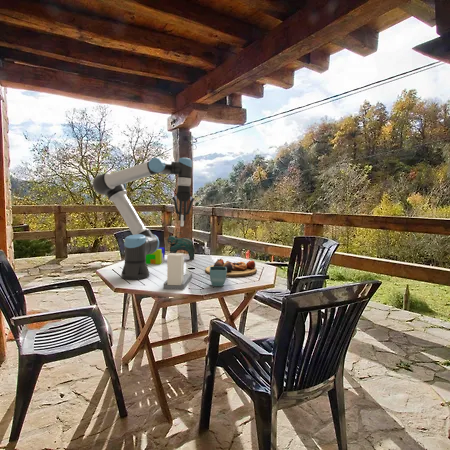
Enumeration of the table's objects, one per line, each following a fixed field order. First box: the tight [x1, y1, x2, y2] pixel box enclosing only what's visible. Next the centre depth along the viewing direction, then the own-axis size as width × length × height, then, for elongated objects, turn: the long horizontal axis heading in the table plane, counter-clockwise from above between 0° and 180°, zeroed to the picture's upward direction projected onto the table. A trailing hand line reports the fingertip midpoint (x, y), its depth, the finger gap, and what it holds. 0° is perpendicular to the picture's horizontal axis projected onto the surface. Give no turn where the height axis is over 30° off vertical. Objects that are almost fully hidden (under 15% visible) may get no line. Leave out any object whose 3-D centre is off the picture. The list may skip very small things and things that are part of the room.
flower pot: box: [209, 267, 227, 287], centre depth 164 cm, size 9×9×9 cm
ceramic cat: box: [167, 231, 196, 261], centre depth 234 cm, size 20×6×20 cm, turn 83°
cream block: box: [166, 252, 185, 285], centre depth 160 cm, size 7×6×15 cm
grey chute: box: [163, 272, 193, 290], centre depth 168 cm, size 10×24×3 cm, turn 176°
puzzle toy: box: [146, 246, 166, 265], centre depth 219 cm, size 10×10×10 cm
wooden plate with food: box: [204, 258, 257, 278], centre depth 197 cm, size 32×32×8 cm
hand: (181, 226), depth 184 cm, fingers closed
